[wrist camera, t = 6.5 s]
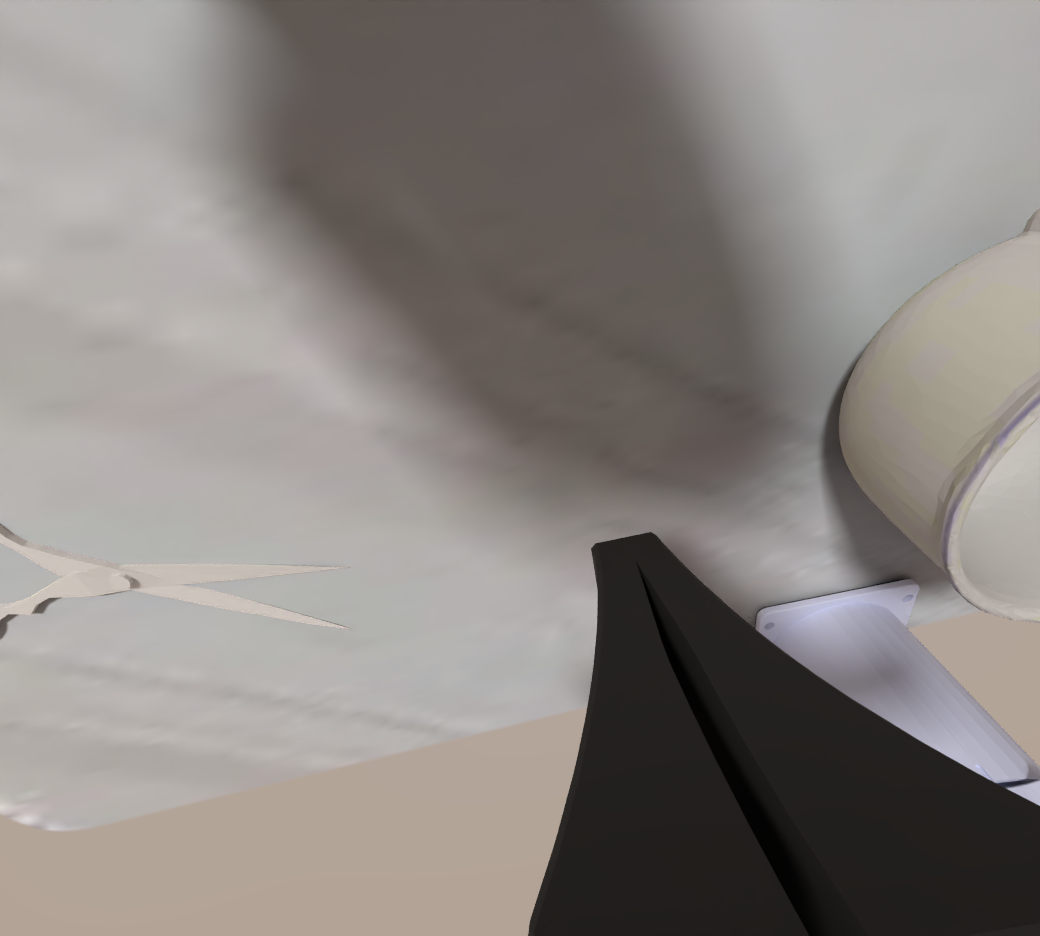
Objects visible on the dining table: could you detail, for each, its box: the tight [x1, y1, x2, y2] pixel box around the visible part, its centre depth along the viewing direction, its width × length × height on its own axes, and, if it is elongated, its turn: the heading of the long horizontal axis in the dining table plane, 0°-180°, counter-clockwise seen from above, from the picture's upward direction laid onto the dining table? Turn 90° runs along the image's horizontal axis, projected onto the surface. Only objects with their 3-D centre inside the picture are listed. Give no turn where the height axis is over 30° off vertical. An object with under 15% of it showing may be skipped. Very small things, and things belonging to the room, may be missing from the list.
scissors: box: [0, 524, 350, 629], centre depth 20 cm, size 11×1×20 cm
